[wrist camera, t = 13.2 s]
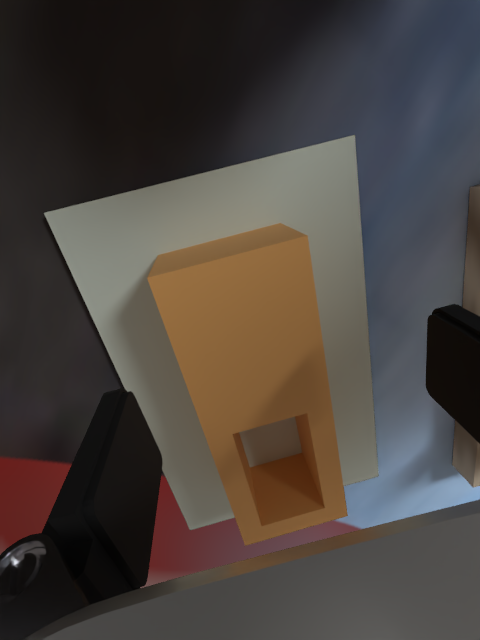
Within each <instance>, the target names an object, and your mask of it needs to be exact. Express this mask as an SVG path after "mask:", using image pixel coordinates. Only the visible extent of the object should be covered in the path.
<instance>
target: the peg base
mask: <svg viewBox="0 0 480 640" xmlns="http://www.w3.org/2000/svg"><path fill="white" fill-rule="evenodd" d="M462 307H463V308H465V309H467V310H468V311H470V312H472V313H474V314H476V315H478V316H480V185H476V186H472V187H470V195H469V211H468V227H467V242H466V258H465V274H464V289H463V305H462ZM452 465H453V466H454V467H455V468H456V469H457V471H458V472H459V473H460V474H461V475H462V476H463V477H464V478H465V479H466V480H467V481H468V483H469V484H470V485H471V486H472V487H477V486H480V444H479V443H478V442H477V441H476V440H475V439H474V438H473V437H472V436H471V435H470V434H469V433H468V432H467V431H466V430H465V429H464V428H463V427H462V426H461V425H460V424H459V423H458V422H457V421H456V420H455V430H454V446H453V461H452Z"/></svg>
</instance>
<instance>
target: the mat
mask: <svg viewBox="0 0 480 640" xmlns="http://www.w3.org/2000/svg"><path fill="white" fill-rule="evenodd" d="M44 215H45V217H46V219H47V221H48V223H49V225H50V228H51V230H52V232H53V234H54V236H55V238H56V241H57V243H58V245H59V247H60V249H61V251H62V254H63V256H64V258H65V260H66V262H67V264H68V267H69V269H70V271H71V273H72V275H73V277H74V280H75V282H76V284H77V286H78V288H79V290H80V293H81V295H82V297H83V299H84V301H85V303H86V306H87V308H88V310H89V312H90V314H91V316H92V319H93V321H94V323H95V325H96V327H97V329H98V332H99V334H100V336H101V338H102V340H103V342H104V345H105V347H106V349H107V351H108V353H109V356H110V358H111V360H112V362H113V364H114V366H115V369H116V371H117V373H118V375H119V377H120V379H121V382H122V384H123V386H124V388H125V389H126V390H127V392H129V391H132V392H133V394H134V395H135V398H136V400H137V402H138V404H139V406H140V408H141V411H142V413H143V415H144V417H145V419H146V421H147V424H148V426H149V428H150V430H151V432H152V434H153V437H154V439H155V441H156V443H157V445H158V447H159V450H160V452H161V455H162V462H163V463H162V470H163V473H164V475H165V477H166V479H167V481H168V483H169V485H170V488H171V490H172V492H173V494H174V496H175V498H176V501H177V503H178V505H179V507H180V509H181V512H182V514H183V516H184V517H185V520H186V522H187V525H188V527H189V529H190V530H193V529H196V528H200V527H203V526H207V525H210V524H214V523H217V522H221V521H224V520H227V519H231V518H235V516H234V514H233V511H232V508H231V505H230V503H229V500H228V497H227V495H226V492H225V489H224V486H223V484H222V481H221V478H220V475H219V473H218V470H217V467H216V465H215V462H214V459H213V456H212V454H211V451H210V448H209V446H208V443H207V440H206V437H205V435H204V432H203V429H202V426H201V424H200V421H199V418H198V416H197V413H196V410H195V407H194V405H193V402H192V399H191V396H190V394H189V391H188V388H187V386H186V383H185V380H184V377H183V375H182V372H181V369H180V367H179V364H178V361H177V358H176V356H175V353H174V350H173V347H172V345H171V342H170V339H169V337H168V334H167V331H166V328H165V326H164V323H163V320H162V318H161V315H160V312H159V309H158V307H157V304H156V301H155V298H154V296H153V293H152V290H151V288H150V285H149V282H148V279H147V277H148V275H149V273H150V271H151V269H152V266H153V264H154V262H155V260H156V258H157V256H158V255H160V254H164V253H168V252H171V251H175V250H179V249H183V248H187V247H191V246H194V245H198V244H202V243H206V242H210V241H213V240H217V239H221V238H225V237H229V236H232V235H236V234H240V233H244V232H248V231H251V230H255V229H259V228H263V227H267V226H271V225H274V224H278V223H282V224H284V225H286V226H288V227H290V228H293V229H295V230H297V231H299V232H301V233H303V234H305V235H308V241H309V248H310V255H311V262H312V269H313V276H314V283H315V290H316V297H317V304H318V311H319V318H320V325H321V332H322V340H323V347H324V354H325V361H326V368H327V375H328V382H329V389H330V396H331V403H332V410H333V417H334V424H335V431H336V438H337V445H338V452H339V459H340V466H341V473H342V480H343V486H346V485H350V484H353V483H357V482H360V481H364V480H367V479H371V478H374V477H378V476H379V474H378V460H377V446H376V431H375V417H374V403H373V388H372V374H371V360H370V345H369V331H368V317H367V302H366V288H365V274H364V259H363V245H362V231H361V216H360V202H359V188H358V173H357V159H356V145H355V135H352V136H348V137H345V138H341V139H337V140H333V141H329V142H325V143H321V144H317V145H313V146H309V147H305V148H301V149H297V150H293V151H289V152H285V153H281V154H277V155H273V156H269V157H265V158H261V159H257V160H253V161H249V162H245V163H241V164H237V165H233V166H229V167H225V168H221V169H217V170H213V171H209V172H205V173H201V174H197V175H193V176H189V177H185V178H181V179H177V180H173V181H169V182H165V183H161V184H157V185H153V186H149V187H145V188H141V189H137V190H133V191H130V192H126V193H122V194H118V195H114V196H110V197H106V198H102V199H98V200H94V201H90V202H86V203H82V204H78V205H74V206H70V207H66V208H62V209H58V210H54V211H50V212H46V213H44ZM239 434H240V437H241V440H242V443H243V447H244V450H245V453H246V457H247V460H248V463H249V466H250V467H254V466H257V465H261V464H264V463H268V462H271V461H275V460H278V459H282V458H285V457H289V456H292V455H296V454H299V453H302V449H301V444H300V439H299V434H298V429H297V424H296V420H295V417H292V418H288V419H285V420H281V421H277V422H274V423H270V424H267V425H263V426H260V427H256V428H253V429H249V430H245V431H242V432H239Z"/></svg>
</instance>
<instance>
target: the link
mask: <svg viewBox="0 0 480 640" xmlns="http://www.w3.org/2000/svg"><path fill="white" fill-rule="evenodd" d="M147 279H148V282H149V285H150V288H151V290H152V293H153V296H154V298H155V301H156V304H157V307H158V309H159V312H160V315H161V318H162V320H163V323H164V326H165V328H166V331H167V334H168V337H169V339H170V342H171V345H172V347H173V350H174V353H175V356H176V358H177V361H178V364H179V367H180V369H181V372H182V375H183V377H184V380H185V383H186V386H187V388H188V391H189V394H190V396H191V399H192V402H193V405H194V407H195V410H196V413H197V416H198V418H199V421H200V424H201V426H202V429H203V432H204V435H205V437H206V440H207V443H208V446H209V448H210V451H211V454H212V456H213V459H214V462H215V465H216V467H217V470H218V473H219V475H220V478H221V481H222V484H223V486H224V489H225V492H226V495H227V497H228V500H229V503H230V505H231V508H232V511H233V514H234V516H235V519H236V522H237V524H238V527H239V530H240V532H241V535H242V538H243V541H244V543H245V545H249V544H253V543H256V542H260V541H263V540H267V539H270V538H274V537H277V536H280V535H284V534H287V533H290V532H294V531H297V530H301V529H304V528H308V527H311V526H314V525H318V524H321V523H325V522H328V521H332V520H335V519H339V518H342V517H345V516H348V515H347V508H346V501H345V494H344V487H343V480H342V473H341V466H340V459H339V452H338V445H337V438H336V431H335V424H334V417H333V410H332V403H331V396H330V389H329V382H328V375H327V368H326V361H325V354H324V347H323V340H322V332H321V325H320V318H319V311H318V304H317V297H316V290H315V283H314V276H313V269H312V262H311V255H310V248H309V241H308V235H305V234H303V233H301V232H299V231H297V230H295V229H293V228H290V227H288V226H286V225H284V224H282V223H278V224H274V225H271V226H267V227H263V228H259V229H255V230H251V231H248V232H244V233H240V234H236V235H232V236H229V237H225V238H221V239H217V240H213V241H210V242H206V243H202V244H198V245H194V246H191V247H187V248H183V249H179V250H175V251H171V252H168V253H164V254H160V255H158V256H157V258H156V260H155V262H154V264H153V266H152V269H151V271H150V273H149V275H148V277H147ZM292 417H295V420H296V424H297V429H298V434H299V439H300V444H301V449H302V453H299V454H296V455H292V456H289V457H285V458H282V459H278V460H275V461H271V462H268V463H264V464H261V465H257V466H254V467H250V466H249V463H248V460H247V457H246V453H245V450H244V447H243V443H242V440H241V437H240V434H239V432H242V431H245V430H249V429H253V428H256V427H260V426H263V425H267V424H270V423H274V422H277V421H281V420H285V419H288V418H292Z"/></svg>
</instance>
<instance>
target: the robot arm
mask: <svg viewBox="0 0 480 640" xmlns="http://www.w3.org/2000/svg"><path fill="white" fill-rule="evenodd" d="M426 388H427V391H428V393H429V395H430V396H431V397H432V398H433V399H434V400H435V401H436V402H437V403H438V404H439V405H440V406H441V407H442V408H443V409H444V410H445V411H446V412H447V413H448V414H449V415H450V416H452V417H453V418H454V419H455V420H456V421H457V422H458V423H459V424H460V425H461V426H462V427H463V428H464V429H465V430H466V431H467V432H468V433H469V434H470V435H471V436H472V437H473V438H474V439H475V440H476V441H477V442H478V443H479V444H480V316H478V315H476V314H474V313H472V312H470V311H468V310H467V309H465V308H463V307H461V306H459V305H456V304H453V305H449V306H445V307H441V308H437V309H435V310H433V312H432V315H430V316H429V317H428V325H427V359H426ZM162 463H163V462H162V455H161V452H160V450H159V447H158V445H157V443H156V441H155V439H154V437H153V434H152V432H151V430H150V428H149V426H148V424H147V421H146V419H145V417H144V415H143V413H142V411H141V408H140V406H139V404H138V402H137V400H136V398H135V395H134V394H133V392H132V391H129V392H127V390H126V389H124V388H122V389H118V390H114V391H110V392H106V393H104V394H103V396H102V398H101V401H100V403H99V405H98V407H97V410H96V412H95V414H94V416H93V419H92V421H91V423H90V426H89V428H88V430H87V432H86V435H85V437H84V439H83V441H82V444H81V446H80V448H79V450H78V452H77V454H76V457H75V459H74V461H73V463H72V466H71V468H70V470H69V472H68V475H67V477H66V479H65V481H64V484H63V486H62V488H61V490H60V493H59V495H58V497H57V500H56V502H55V504H54V506H53V508H52V511H51V513H50V515H49V518H48V520H47V522H46V524H45V527H44V529H43V531H42V533H39V534H34V535H30V536H27V537H25V538H23V539H21V540H19V541H17V542H16V543H14V544H13V545H11V546H10V547H9V548H7V549H6V550H5V551H4V552H3V553H2V554H1V555H0V640H480V500H476V501H472V502H468V503H464V504H460V505H456V506H452V507H448V508H444V509H440V510H436V511H432V512H428V513H424V514H420V515H416V516H412V517H409V518H405V519H401V520H397V521H393V522H389V523H385V524H381V525H377V526H373V527H369V528H366V529H362V530H358V531H354V532H350V533H346V534H343V535H338V536H334V537H331V538H327V539H323V540H319V541H315V542H311V543H308V544H304V545H300V546H296V547H292V548H288V549H284V550H281V551H277V552H273V553H269V554H265V555H262V556H258V557H254V558H250V559H246V560H243V561H239V562H235V563H231V564H227V565H224V566H220V567H216V568H212V569H208V570H205V571H201V572H197V573H194V574H190V575H186V576H183V577H179V578H176V579H173V580H169V581H166V582H162V583H158V584H155V585H151V586H148V587H144V588H140V587H142V586H144V585H145V584H146V582H147V577H148V569H149V562H150V554H151V547H152V540H153V532H154V525H155V516H156V510H157V502H158V495H159V487H160V480H161V472H162Z"/></svg>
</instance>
